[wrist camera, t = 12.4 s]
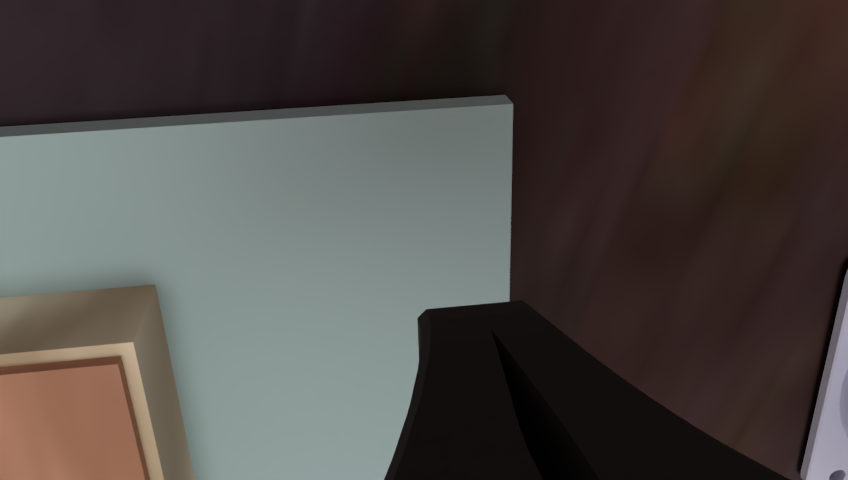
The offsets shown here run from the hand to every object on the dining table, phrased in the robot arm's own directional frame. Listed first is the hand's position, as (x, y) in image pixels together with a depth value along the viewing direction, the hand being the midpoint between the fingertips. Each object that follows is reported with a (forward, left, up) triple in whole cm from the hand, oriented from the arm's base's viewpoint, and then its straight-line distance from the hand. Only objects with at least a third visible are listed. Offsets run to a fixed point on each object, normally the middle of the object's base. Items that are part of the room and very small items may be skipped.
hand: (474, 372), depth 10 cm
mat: (+6, +6, -9) cm, 13 cm away
